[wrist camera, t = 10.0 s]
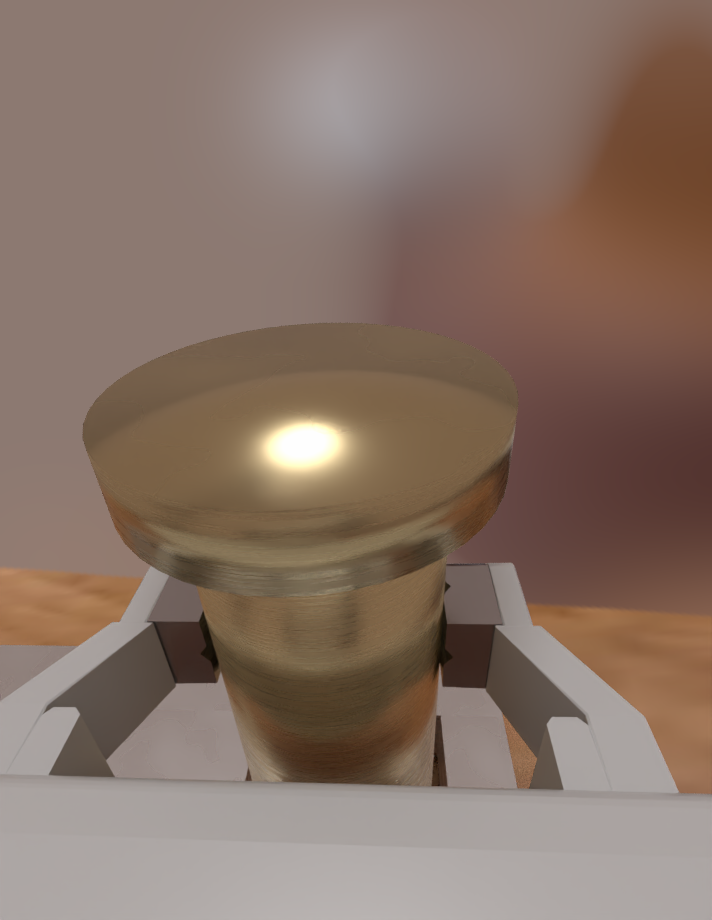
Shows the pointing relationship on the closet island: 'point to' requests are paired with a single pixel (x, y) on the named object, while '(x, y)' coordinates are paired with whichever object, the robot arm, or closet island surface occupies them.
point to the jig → (219, 746)
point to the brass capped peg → (313, 524)
